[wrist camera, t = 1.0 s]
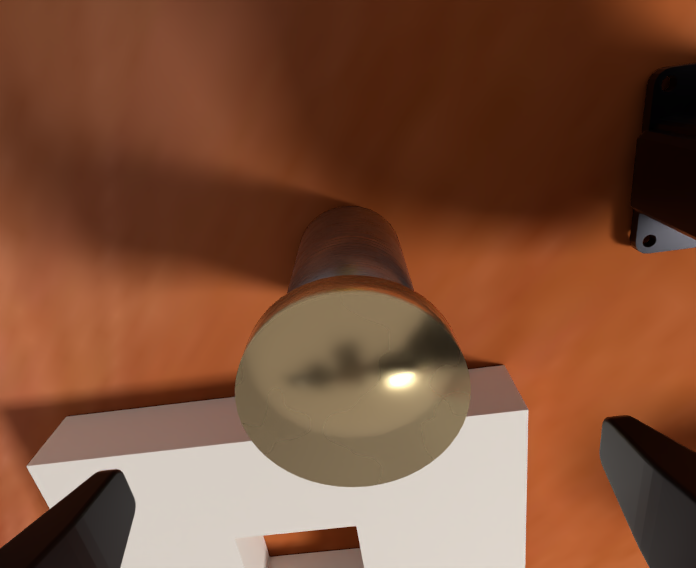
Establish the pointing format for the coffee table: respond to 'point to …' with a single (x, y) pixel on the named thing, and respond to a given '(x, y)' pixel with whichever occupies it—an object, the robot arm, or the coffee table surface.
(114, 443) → the hole plate
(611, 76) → the coffee table surface
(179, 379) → the coffee table surface
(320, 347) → the metal pin
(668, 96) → the robot arm
